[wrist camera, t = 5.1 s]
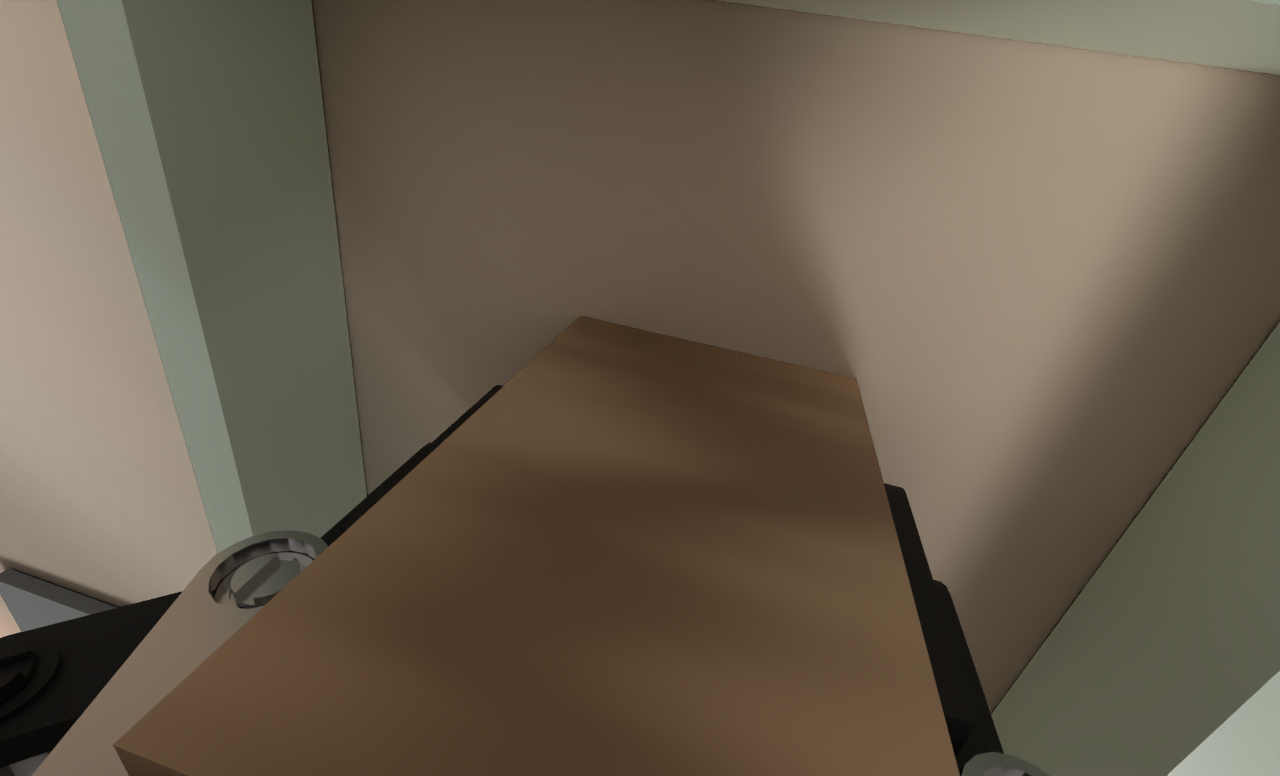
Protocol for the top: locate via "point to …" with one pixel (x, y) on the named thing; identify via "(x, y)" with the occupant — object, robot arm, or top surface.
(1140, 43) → the green square frame
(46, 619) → the mat
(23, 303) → the top surface
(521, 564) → the block
